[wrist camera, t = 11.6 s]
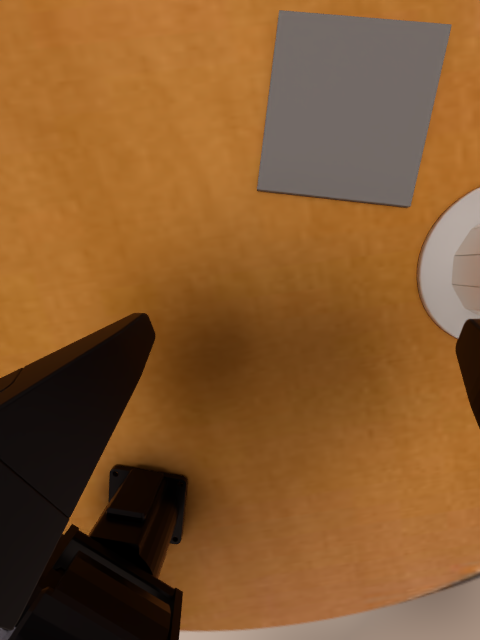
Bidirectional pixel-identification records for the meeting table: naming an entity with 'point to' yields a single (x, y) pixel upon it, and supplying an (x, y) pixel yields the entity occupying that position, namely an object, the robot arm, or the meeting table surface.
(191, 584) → the meeting table surface
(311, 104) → the mat
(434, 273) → the saucer
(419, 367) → the meeting table surface
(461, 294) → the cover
